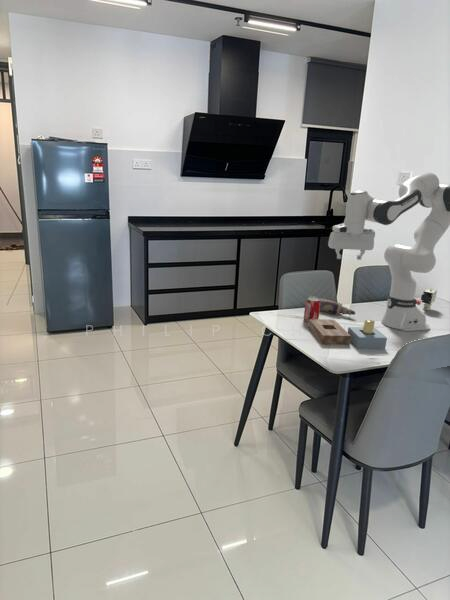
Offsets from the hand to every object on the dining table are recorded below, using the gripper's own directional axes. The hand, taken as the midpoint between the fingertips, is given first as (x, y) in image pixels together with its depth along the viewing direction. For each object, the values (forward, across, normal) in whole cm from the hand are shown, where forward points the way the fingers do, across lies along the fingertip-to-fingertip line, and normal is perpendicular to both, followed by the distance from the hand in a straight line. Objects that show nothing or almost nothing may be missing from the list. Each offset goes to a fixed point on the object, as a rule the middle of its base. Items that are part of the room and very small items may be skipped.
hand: (348, 259), depth 198 cm
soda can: (+33, +12, -6) cm, 36 cm away
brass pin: (+32, -4, +21) cm, 39 cm away
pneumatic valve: (+33, -62, -32) cm, 78 cm away
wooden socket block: (+33, +10, +13) cm, 37 cm away
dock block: (+33, -4, +21) cm, 39 cm away
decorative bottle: (+34, -2, -22) cm, 40 cm away
